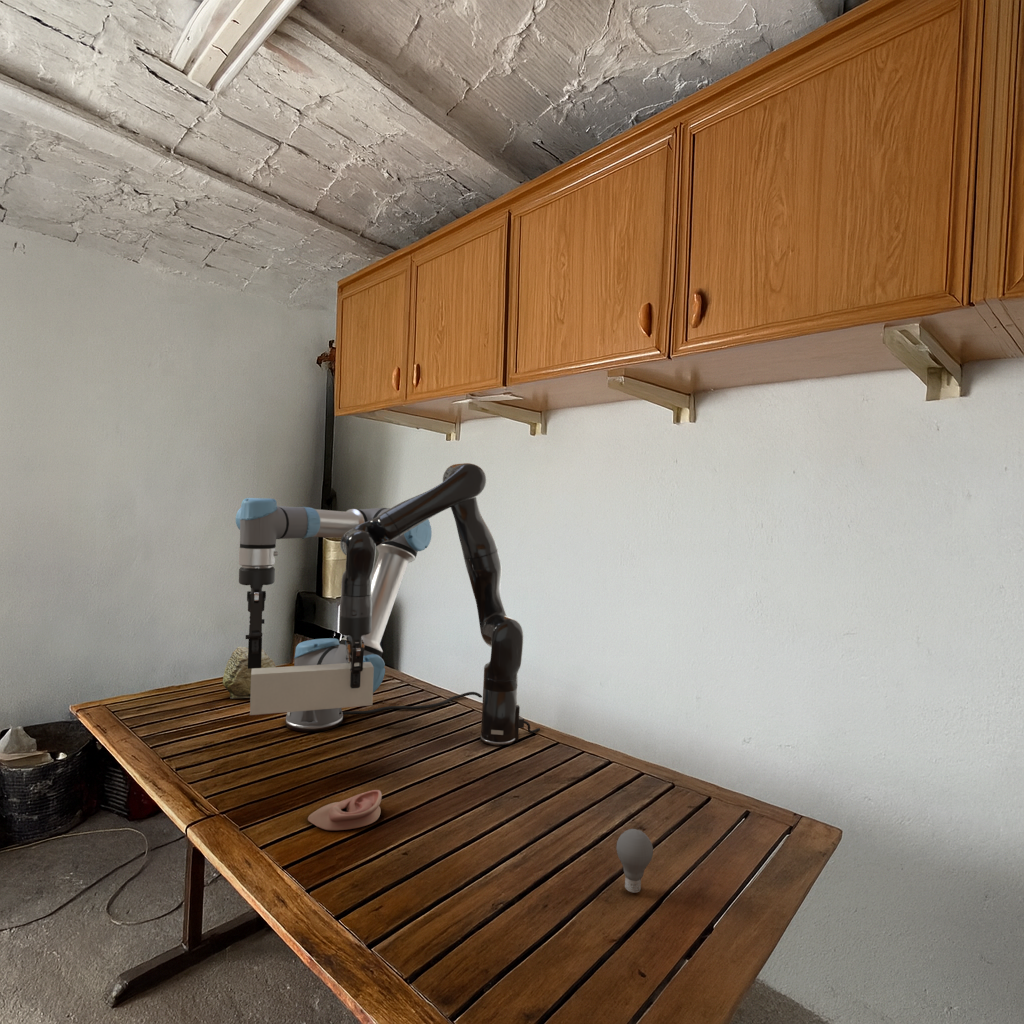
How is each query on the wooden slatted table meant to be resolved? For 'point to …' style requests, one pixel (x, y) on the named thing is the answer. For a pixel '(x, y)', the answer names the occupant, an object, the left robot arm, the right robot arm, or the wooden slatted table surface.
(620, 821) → the wooden slatted table surface
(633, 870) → the light bulb
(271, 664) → the fossil
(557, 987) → the wooden slatted table surface
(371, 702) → the bar
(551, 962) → the wooden slatted table surface
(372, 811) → the anatomical model
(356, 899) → the wooden slatted table surface
